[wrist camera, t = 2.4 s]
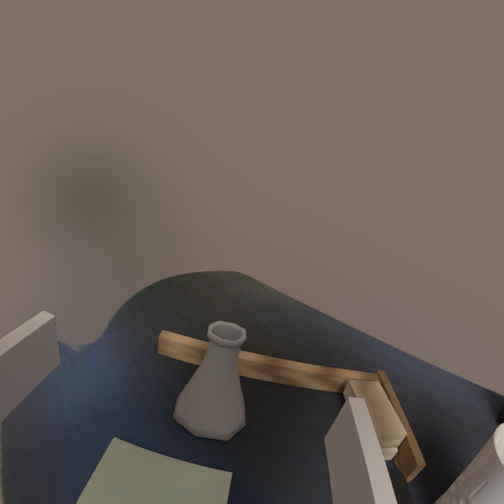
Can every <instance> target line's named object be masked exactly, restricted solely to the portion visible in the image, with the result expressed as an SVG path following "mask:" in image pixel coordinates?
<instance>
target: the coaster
mask: <svg viewBox="0 0 504 504" xmlns="http://www.w3.org/2000/svg"><path fill="white" fill-rule="evenodd" d="M231 477H232V472H226V471H222V470H217V469H213V468H208V467H204V466H200V465H196V464H192V463H188V462H185V461H181V460H178V459H174V458H171V457H168V456H165V455H161V454H158V453H155V452H152V451H149V450H147V449H144V448H141V447H138V446H135V445H133V444H130V443H128V442H125V441H123V440H120V439H118V438H115V437H114V438H113V440H112V442H111V443H110V445H109V447H108V448H107V450H106V452H105V454H104V455H103V457H102V459H101V460H100V462H99V464H98V466H97V467H96V469H95V471H94V473H93V474H92V476H91V478H90V480H89V481H88V483H87V485H86V487H85V488H84V490H83V492H82V494H81V496H80V497H79V499H78V501H77V503H76V504H227V500H228V495H229V489H230V483H231Z"/></svg>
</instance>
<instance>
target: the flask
mask: <svg viewBox="0 0 504 504" xmlns="http://www.w3.org/2000/svg"><path fill="white" fill-rule="evenodd" d="M207 337H208V339H210V342H209V346H208V349H207V351H206V354H205V356H204V359H203V361H202V363H201V364H200V366H199V367H198V369H197V370H196V372H195V373H194V375H193V377H192V378H191V380H190V381H189V382H188V384H187V385H186V386H185V388H184V389H183V390H182V392H181V393H180V395H179V396H178V398H177V401H176V405H175V410H174V414H173V419H174V420H176V421H177V422H178V423H179V424H181V425H182V426H183V427H184V428H186V429H187V430H188V431H189V432H191V433H192V434H193V435H195V436H198V437H204V438H211V439H218V440H226V441H228V440H229V439H230V438H231V437H233V436H234V435H235V434H236V433H237V432H239V431H240V430H241V429H242V428H243V427H244V426H246V421H245V404H244V399H243V394H242V390H241V385H240V379H239V372H238V355H239V351H240V347H241V344H243V343H244V342H245V341H246V330H245V329H244V328H242V327H240V326H238V325H236V324H234V323H229V322H224V321H217V322H215V323H212V324H210V325H209V328H208V334H207Z"/></svg>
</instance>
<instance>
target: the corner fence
mask: <svg viewBox="0 0 504 504" xmlns="http://www.w3.org/2000/svg"><path fill="white" fill-rule="evenodd" d="M208 346H209V343H208V342H205V341H201V340H197V339H193V338H190V337H186V336H182V335H179V334H175V333H172V332H168V331H165V330H163V331H162V332H161V334H160V335H159V339H158V354H161V355H164V356H168V357H171V358H174V359H178V360H181V361H185V362H188V363H192V364H196V365H199V366H200V364H201V363H202V361H203V359H204V356H205V354H206V351H207V349H208ZM238 372H239V375H240V376H245V377H249V378H254V379H259V380H264V381H269V382H274V383H280V384H285V385H291V386H297V387H303V388H310V389H317V390H324V391H331V392H340V393H343V392H344V390H345V388H346V385H347V383H348V381H349V380H358V381H379V383H380V384H381V386H382V388H383V390H384V392H385V393H386V395H387V397H388V399H389V401H390V403H391V404H392V406H393V408H394V410H395V412H396V414H397V415H398V417H399V419H400V421H401V423H402V425H403V427H404V429H405V430H406V432H407V435H406V436H405V438H404V439H403V441H402V442H401V443H400V445H399V446H398V447H397V449H398V452H397V453H396V454H395V456H394V457H393V459H394V462H395V465H396V468H398V469H399V470H400V471H401V473H402V474H403V475H404V476H405V478H406V481H407V483H410V482H411V481H412V480H413V479H414V477H415V476H416V475H417V474H418V473H419V472H420V471H421V470H422V469H423V468H424V467H425V466H426V463H425V461H424V458H423V456H422V453H421V451H420V449H419V446H418V444H417V441H416V439H415V437H414V434H413V432H412V430H411V428H410V425H409V423H408V421H407V419H406V416H405V414H404V412H403V410H402V408H401V405H400V403H399V401H398V399H397V397H396V395H395V393H394V390H393V388H392V386H391V384H390V382H389V380H388V378H387V376H386V374H385V372H384V371H377V373H367V372H359V371H352V370H344V369H337V368H331V367H324V366H318V365H312V364H306V363H300V362H295V361H289V360H284V359H279V358H274V357H269V356H264V355H260V354H255V353H250V352H246V351H241V350H240V351H239V355H238Z"/></svg>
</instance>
